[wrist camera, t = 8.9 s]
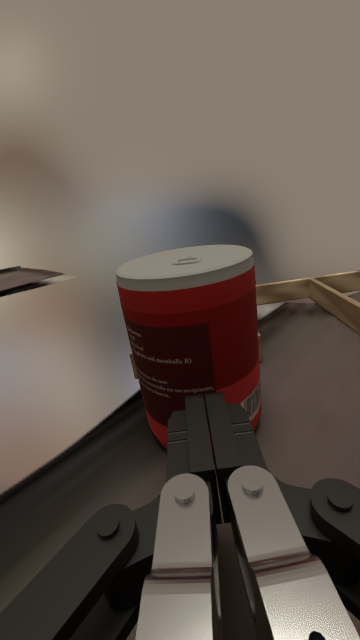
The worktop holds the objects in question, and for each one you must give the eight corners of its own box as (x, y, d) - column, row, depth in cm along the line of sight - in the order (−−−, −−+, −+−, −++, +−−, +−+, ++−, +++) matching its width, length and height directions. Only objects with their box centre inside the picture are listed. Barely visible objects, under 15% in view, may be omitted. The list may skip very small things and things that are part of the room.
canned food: (242, 376, 24) (232, 239, 20) (282, 450, 17) (279, 258, 13) (150, 392, 24) (120, 257, 20) (150, 475, 17) (103, 287, 13)
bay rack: (392, 284, 39) (395, 265, 38) (511, 328, 25) (519, 300, 24) (148, 318, 40) (144, 301, 39) (135, 378, 26) (129, 353, 25)
